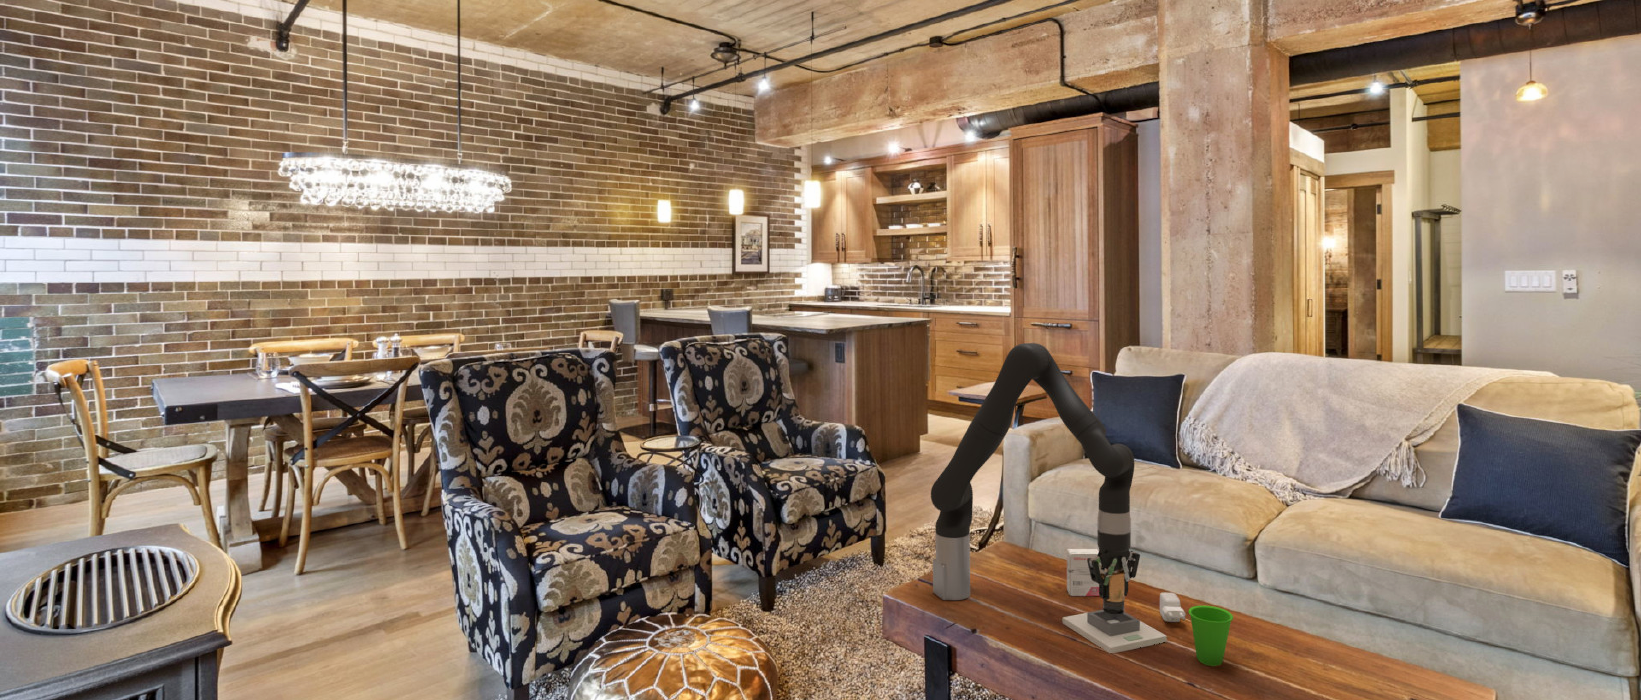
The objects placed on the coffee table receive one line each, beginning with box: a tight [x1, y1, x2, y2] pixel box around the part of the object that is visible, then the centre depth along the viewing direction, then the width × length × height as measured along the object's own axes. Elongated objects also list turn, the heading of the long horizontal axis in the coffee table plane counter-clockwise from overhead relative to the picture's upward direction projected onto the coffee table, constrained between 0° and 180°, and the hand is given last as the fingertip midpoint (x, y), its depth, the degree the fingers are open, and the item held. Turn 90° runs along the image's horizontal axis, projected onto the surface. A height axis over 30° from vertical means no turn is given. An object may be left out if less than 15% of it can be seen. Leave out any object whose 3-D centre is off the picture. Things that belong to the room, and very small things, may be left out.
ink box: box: [1066, 548, 1101, 597], centre depth 224 cm, size 9×5×12 cm, turn 84°
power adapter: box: [1159, 592, 1187, 623], centre depth 205 cm, size 11×5×6 cm, turn 171°
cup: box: [1188, 604, 1234, 667], centre depth 184 cm, size 9×9×11 cm
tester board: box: [1062, 609, 1168, 654], centre depth 200 cm, size 16×18×4 cm
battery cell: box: [1102, 569, 1125, 614], centre depth 199 cm, size 5×5×10 cm
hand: (1113, 596), depth 200 cm, fingers closed on battery cell, 4 cm apart
